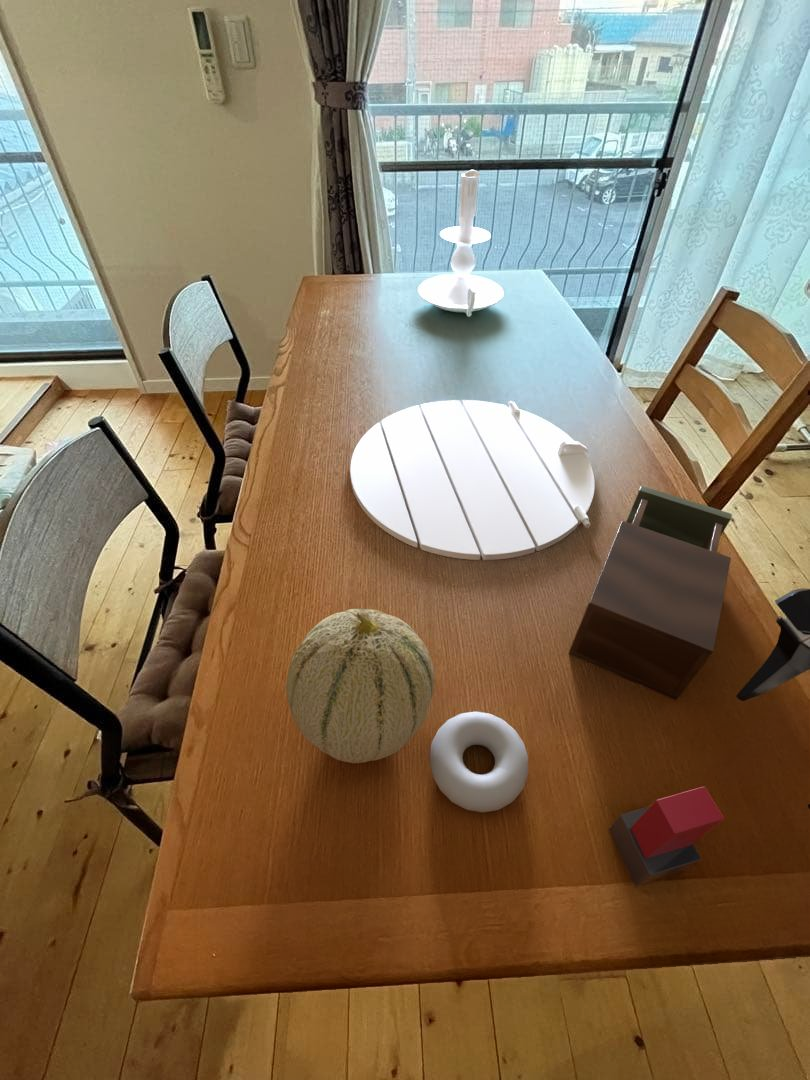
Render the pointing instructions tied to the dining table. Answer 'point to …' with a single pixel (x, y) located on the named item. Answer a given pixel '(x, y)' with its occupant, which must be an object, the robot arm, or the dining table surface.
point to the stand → (653, 866)
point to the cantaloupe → (360, 685)
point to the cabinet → (653, 610)
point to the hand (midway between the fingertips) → (772, 749)
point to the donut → (467, 785)
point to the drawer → (678, 518)
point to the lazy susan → (472, 479)
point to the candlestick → (463, 261)
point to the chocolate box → (676, 822)
